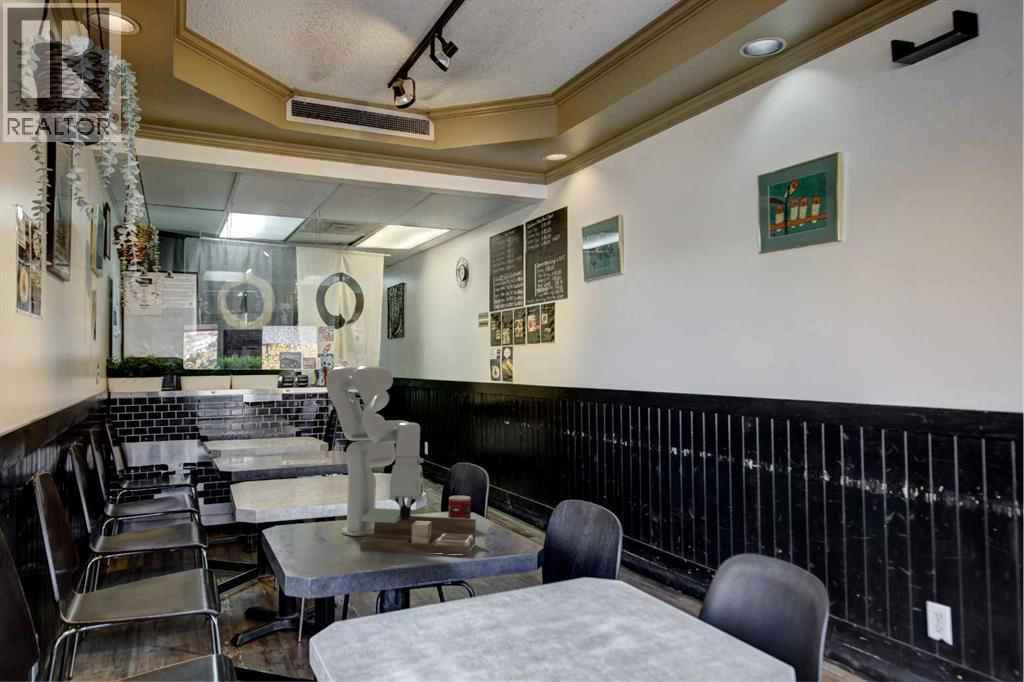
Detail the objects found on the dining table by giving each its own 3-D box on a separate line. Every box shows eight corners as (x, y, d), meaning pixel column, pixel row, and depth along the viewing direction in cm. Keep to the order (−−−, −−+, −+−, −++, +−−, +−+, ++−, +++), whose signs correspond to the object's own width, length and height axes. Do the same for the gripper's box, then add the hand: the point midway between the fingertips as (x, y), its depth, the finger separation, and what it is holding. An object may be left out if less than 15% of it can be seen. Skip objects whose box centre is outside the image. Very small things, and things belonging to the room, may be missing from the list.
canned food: (445, 526, 239) (446, 496, 240) (465, 524, 243) (466, 494, 243) (452, 531, 232) (453, 499, 233) (473, 529, 236) (474, 498, 236)
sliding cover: (375, 512, 219) (375, 508, 219) (407, 514, 218) (407, 509, 218) (361, 521, 206) (361, 516, 206) (395, 523, 205) (395, 518, 205)
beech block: (415, 545, 211) (416, 520, 212) (430, 546, 211) (431, 521, 211) (411, 549, 206) (412, 524, 207) (426, 550, 206) (427, 524, 206)
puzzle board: (374, 538, 219) (375, 513, 219) (475, 544, 214) (475, 518, 215) (360, 549, 205) (360, 522, 205) (466, 556, 201) (467, 528, 201)
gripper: (432, 460, 214) (430, 517, 213) (388, 458, 215) (386, 515, 214) (427, 463, 206) (424, 523, 205) (381, 461, 208) (378, 520, 207)
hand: (405, 518), depth 210 cm, fingers closed
